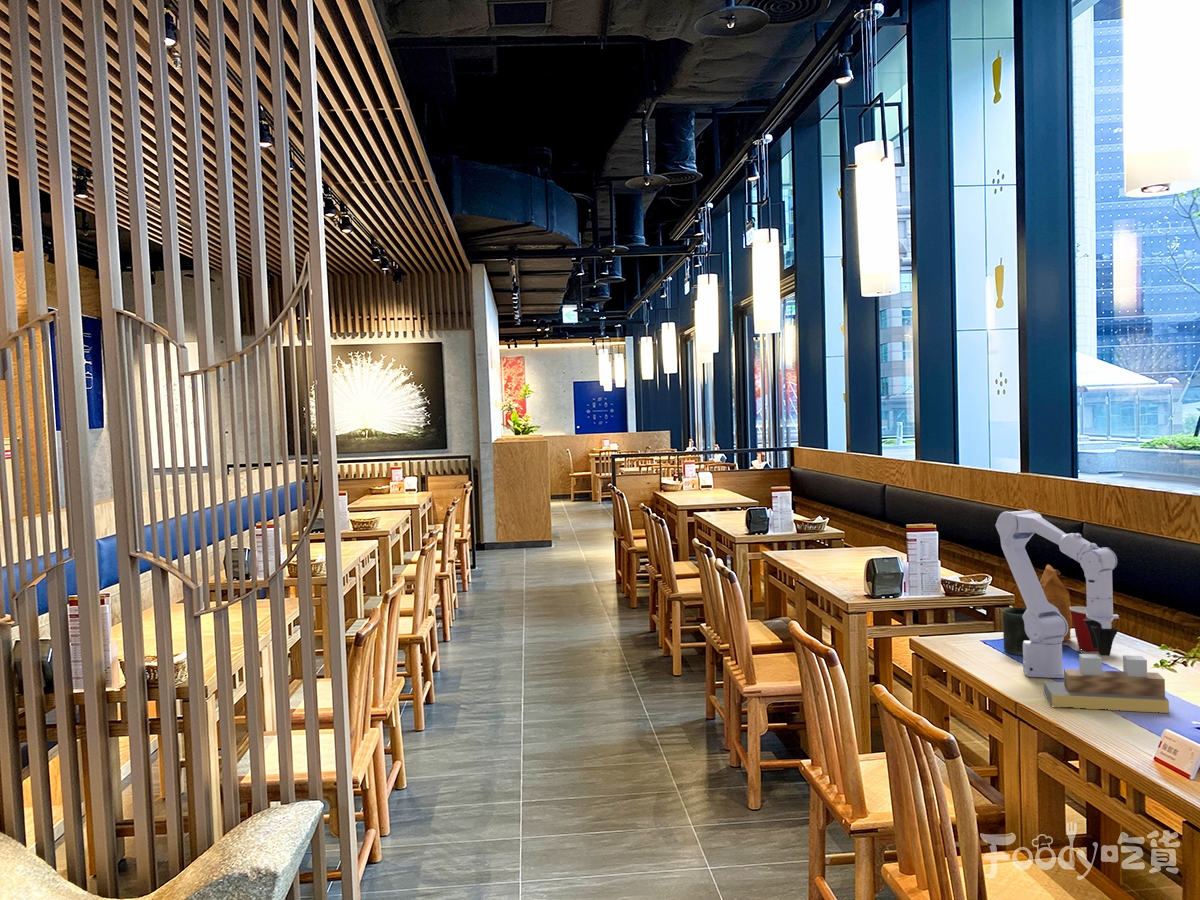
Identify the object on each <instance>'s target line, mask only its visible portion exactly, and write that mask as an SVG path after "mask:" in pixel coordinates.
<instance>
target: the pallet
mask: <svg viewBox="0 0 1200 900" xmlns="http://www.w3.org/2000/svg"><path fill="white" fill-rule="evenodd" d="M1063 672H1064V678H1063V682H1064V686H1065V687H1066V689H1068V692H1079V693H1100V694H1122V695H1143V696H1165V697H1166V683H1165V682H1166V680H1165V678H1164V677H1163V676H1162V675H1161V674H1160V673H1159V672H1152V671H1150V672H1148V671H1147V677H1128V676H1127V675H1126V674H1125V673H1124V672H1123V670H1122V671H1121V670H1102V676H1099V675H1083V674H1082V673H1081V672H1080V670H1079V669H1074V668H1072V669H1069V668H1063Z"/></svg>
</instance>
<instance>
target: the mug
mask: <svg viewBox="0 0 1200 900" xmlns="http://www.w3.org/2000/svg"><path fill="white" fill-rule="evenodd" d="M1026 609H1027V607H1022V606H1021V607H1019V606H1017V607H1016V606H1015V607H1005V608H1002V609H1001V610H1000V611H1001V612H1000V613H1002V625H1003V626H1002V631H1003V635H1002V637H1003V649H1004V651H1005V652H1006V653H1008V654H1012V655H1018V656H1023V641H1027V640H1030V638H1029V637H1028V636H1027V634H1026V632H1025V624H1024V620H1023V618H1022V616H1023V614H1024V613H1025V611H1026ZM1038 617H1041V616H1038Z"/></svg>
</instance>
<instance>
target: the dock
mask: <svg viewBox="0 0 1200 900" xmlns="http://www.w3.org/2000/svg"><path fill="white" fill-rule="evenodd" d="M1043 689H1044V691H1043V693H1045V694H1044V695H1046V696H1047V697H1046V696H1045V697H1046V699H1047V698H1048V699H1047V700H1049V701H1048V703H1049V702H1050V703H1051V704H1050V703H1049V704H1050V706H1051V705H1052V706H1056V707H1055V708H1060V707H1074V708H1073V709H1080V708H1086V709H1085V710H1099V709H1105V710H1106V709H1108V710H1107V711H1119V710H1120V711H1121V712H1123V711H1124V712H1141V713H1142V712H1144V713H1158V712H1159V713H1162V714H1170V703H1169V702H1170V701H1169V699H1168V698H1167V697H1166V695H1165V696H1143V695H1122V694H1100V693H1079V692H1068V689H1066V687H1065V686H1064V681H1063V682H1062V681H1061V682H1060V681H1059V682H1058V681H1044V682H1043ZM1052 706H1051V707H1052ZM1105 710H1104V711H1105Z"/></svg>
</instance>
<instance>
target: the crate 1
mask: <svg viewBox="0 0 1200 900" xmlns="http://www.w3.org/2000/svg"><path fill="white" fill-rule="evenodd" d="M1078 661H1079V662H1078V663H1079V666H1078V667H1079V669H1078V670H1080V672H1081V673H1082V674H1083V675H1099V676H1102V671H1103V660H1102V657H1101V655H1100V654H1092V653H1091V654H1090V653H1089V654H1087V653H1079V654H1078Z"/></svg>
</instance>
